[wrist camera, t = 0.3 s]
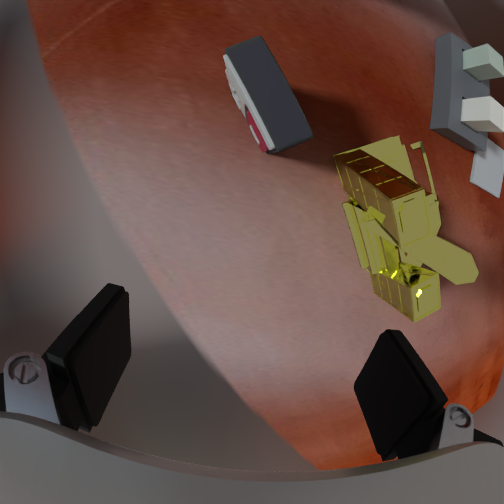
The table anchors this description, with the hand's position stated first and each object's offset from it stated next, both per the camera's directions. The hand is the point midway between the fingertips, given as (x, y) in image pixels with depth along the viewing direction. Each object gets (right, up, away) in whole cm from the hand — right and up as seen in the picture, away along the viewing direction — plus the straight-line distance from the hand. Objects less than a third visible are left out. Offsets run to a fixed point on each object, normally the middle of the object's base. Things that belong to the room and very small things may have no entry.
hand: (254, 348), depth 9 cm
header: (+35, +31, +22) cm, 52 cm away
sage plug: (+36, +35, +19) cm, 54 cm away
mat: (+45, +20, +26) cm, 56 cm away
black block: (+1, +22, +25) cm, 34 cm away
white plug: (+34, +26, +22) cm, 49 cm away
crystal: (+23, +10, +30) cm, 39 cm away
